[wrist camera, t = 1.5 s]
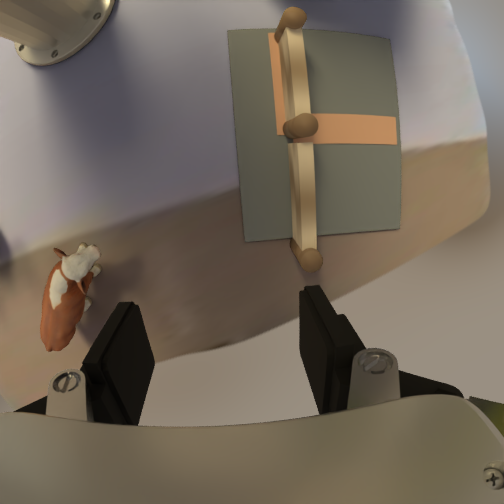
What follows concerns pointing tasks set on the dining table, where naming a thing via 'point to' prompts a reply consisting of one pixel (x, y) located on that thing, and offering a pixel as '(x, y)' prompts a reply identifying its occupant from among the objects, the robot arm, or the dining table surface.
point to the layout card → (318, 132)
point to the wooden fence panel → (294, 75)
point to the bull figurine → (67, 295)
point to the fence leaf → (303, 206)
